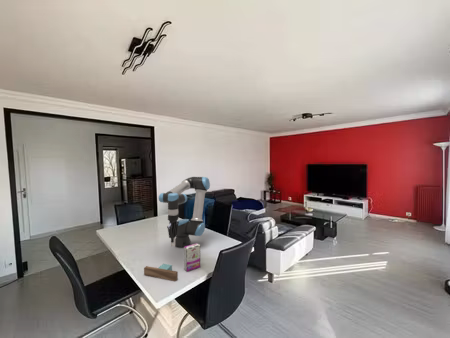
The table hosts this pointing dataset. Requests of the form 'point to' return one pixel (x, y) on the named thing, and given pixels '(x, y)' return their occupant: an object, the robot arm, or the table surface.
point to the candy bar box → (191, 257)
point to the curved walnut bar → (161, 273)
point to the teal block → (166, 267)
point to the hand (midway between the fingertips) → (173, 245)
